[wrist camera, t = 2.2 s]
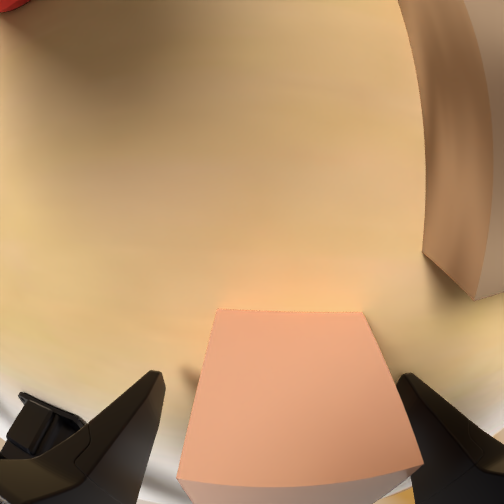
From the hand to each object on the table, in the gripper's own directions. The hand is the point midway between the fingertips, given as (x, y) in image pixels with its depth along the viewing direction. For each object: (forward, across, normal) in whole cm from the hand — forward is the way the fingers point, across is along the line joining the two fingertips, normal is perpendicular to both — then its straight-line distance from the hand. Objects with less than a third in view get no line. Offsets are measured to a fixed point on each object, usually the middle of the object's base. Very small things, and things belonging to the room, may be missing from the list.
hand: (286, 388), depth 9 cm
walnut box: (+2, -8, -10) cm, 13 cm away
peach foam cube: (+1, 0, 0) cm, 1 cm away
